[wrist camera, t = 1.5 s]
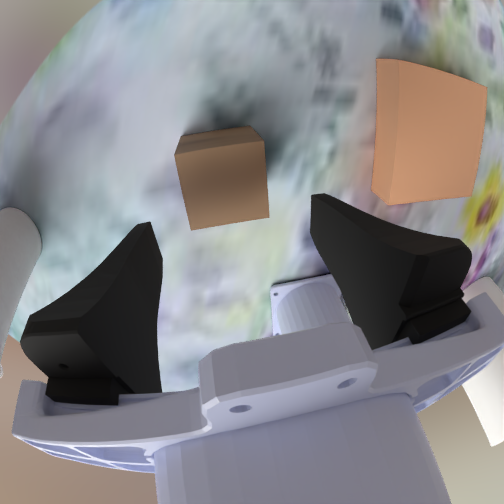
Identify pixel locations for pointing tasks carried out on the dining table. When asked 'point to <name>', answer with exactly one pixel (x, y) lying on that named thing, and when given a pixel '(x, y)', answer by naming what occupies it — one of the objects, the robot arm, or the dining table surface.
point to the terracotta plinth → (426, 133)
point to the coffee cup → (15, 263)
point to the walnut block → (223, 176)
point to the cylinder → (488, 373)
